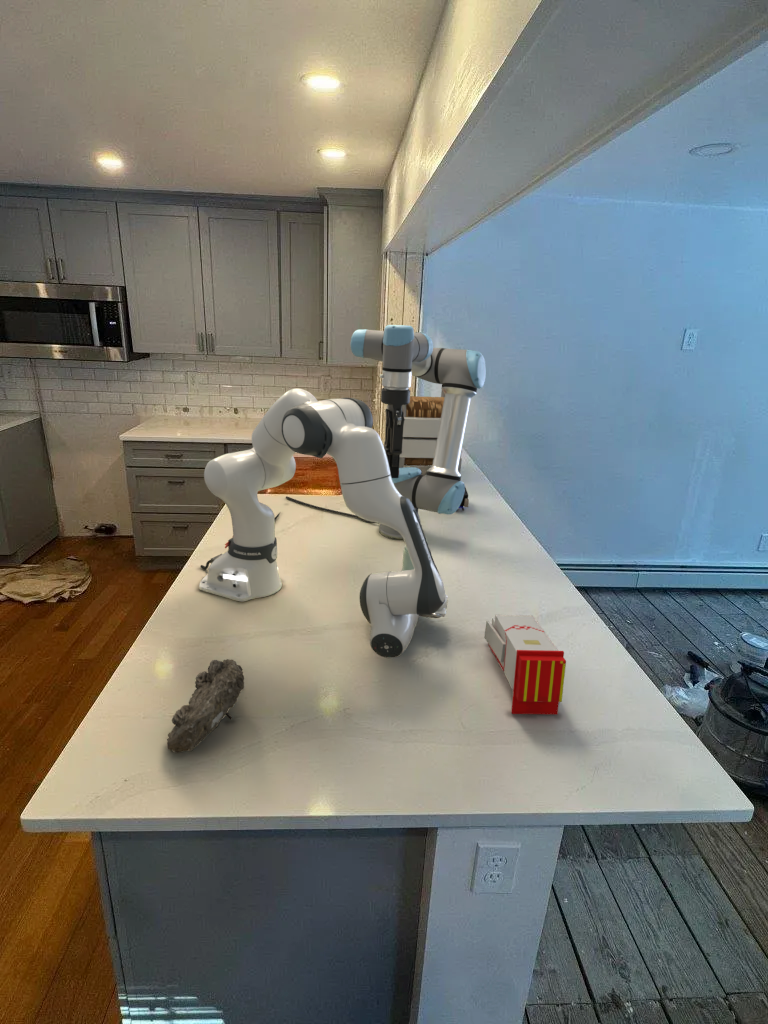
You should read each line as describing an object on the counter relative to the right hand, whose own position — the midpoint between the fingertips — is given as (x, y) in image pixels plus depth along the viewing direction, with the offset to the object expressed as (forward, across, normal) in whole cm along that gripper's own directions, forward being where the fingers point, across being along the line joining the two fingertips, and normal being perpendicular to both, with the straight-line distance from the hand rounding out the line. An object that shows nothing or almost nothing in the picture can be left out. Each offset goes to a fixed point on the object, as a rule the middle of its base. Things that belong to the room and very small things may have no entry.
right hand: (391, 475), depth 154 cm
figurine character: (+32, -63, +41) cm, 81 cm away
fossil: (+32, +53, -43) cm, 76 cm away
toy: (+32, +47, +21) cm, 61 cm away
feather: (+32, -56, -31) cm, 72 cm away
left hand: (+25, +16, +4) cm, 30 cm away
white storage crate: (+32, -112, +36) cm, 122 cm away
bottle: (+32, +17, +3) cm, 37 cm away
